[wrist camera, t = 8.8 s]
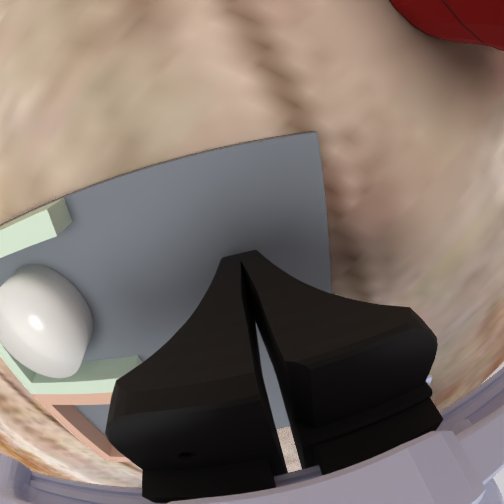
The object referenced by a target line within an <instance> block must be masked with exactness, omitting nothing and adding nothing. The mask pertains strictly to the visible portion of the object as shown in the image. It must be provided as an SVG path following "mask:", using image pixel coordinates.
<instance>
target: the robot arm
mask: <svg viewBox="0 0 504 504" xmlns="http://www.w3.org/2000/svg"><path fill="white" fill-rule="evenodd" d="M255 322H256V323H255ZM256 324H257V327H258V329H259V332H260V335H261V337H262V340H263V342H264V345H265V347H266V350H267V353H268V355H269V358H270V360H271V363H272V365H273V368H274V371H275V374H276V377H277V380H278V384H279V388H280V391H281V395H282V398H283V402H284V406H285V409H286V413H287V416H288V420H289V424H290V427H291V431H292V434H293V438H294V442H295V445H296V449H297V452H298V456H299V460H300V463H301V467H302V470H298V471H294V472H290V473H288V471H287V468H286V464H285V460H284V457H283V453H282V449H281V445H280V442H279V438H278V434H277V430H276V426H275V423H274V419H273V415H272V411H271V407H270V403H269V399H268V395H267V391H266V387H265V383H264V379H263V373H262V367H261V360H260V352H259V345H258V337H257V330H256ZM437 346H438V344H437V337H436V336H435V334H434V333H433V332H432V331H431V329H430V328H429V327H428V326H427V325H426V324H425V322H424V321H423V320H422V319H421V318H420V317H419V316H418V315H417V314H416V313H415V312H414V311H413V310H412V309H411V308H410V307H399V306H388V305H378V304H372V303H367V302H361V301H356V300H352V299H348V298H344V297H341V296H338V295H334V294H331V293H328V292H325V291H322V290H320V289H317V288H315V287H313V286H310V285H308V284H306V283H304V282H302V281H300V280H298V279H296V278H294V277H293V276H291V275H289V274H288V273H286V272H285V271H283V270H282V269H280V268H279V267H277V266H276V265H275V264H273V263H272V262H271V261H269V260H268V259H267V258H266V257H264V256H263V255H262V254H261V253H260V252H259V251H257V250H251V251H247V252H243V253H239V254H235V255H230V256H226V257H222V259H221V260H220V263H219V265H218V268H217V271H216V273H215V275H214V277H213V280H212V282H211V284H210V286H209V288H208V290H207V291H206V293H205V295H204V297H203V298H202V300H201V302H200V303H199V305H198V306H197V308H196V309H195V311H194V312H193V314H192V315H191V316H190V318H189V319H188V320H187V321H186V323H185V324H184V325H183V326H182V327H181V328H180V329H179V330H178V331H177V332H176V333H175V334H174V335H173V336H172V338H171V339H170V340H169V341H168V342H166V343H165V344H164V345H163V346H162V347H161V348H160V349H159V350H157V351H156V352H155V353H154V354H153V355H151V356H150V357H149V358H148V359H146V360H145V361H144V362H143V363H141V364H140V365H138V366H137V367H135V368H134V369H132V370H131V371H130V372H128V373H127V374H125V375H124V376H122V377H121V378H119V379H117V380H116V382H115V386H114V389H113V392H112V396H111V401H110V407H109V413H108V418H107V424H106V430H105V434H106V436H107V439H108V441H109V442H110V443H111V444H112V445H113V446H114V447H115V448H116V449H117V450H118V451H119V452H120V453H121V454H123V455H124V456H125V457H126V458H128V459H129V460H130V461H132V462H133V463H134V464H136V465H137V466H138V467H140V468H141V469H143V475H142V488H131V487H117V486H107V485H98V484H91V483H84V482H78V481H72V480H67V479H62V478H57V477H53V476H49V475H45V474H41V473H37V472H33V471H31V470H30V469H29V468H28V467H26V466H25V465H23V464H22V463H20V462H19V461H17V460H15V459H14V458H11V457H9V456H5V455H2V454H0V504H504V501H503V498H502V495H501V493H500V491H499V489H498V486H497V485H496V483H495V481H494V479H493V477H494V476H495V475H496V474H497V473H498V472H499V471H500V470H501V469H502V468H503V467H504V367H503V368H502V369H501V370H499V371H498V372H497V373H496V374H494V375H493V376H492V377H490V378H489V379H488V380H487V381H485V382H484V383H483V384H481V385H480V386H478V387H477V388H476V389H474V390H473V391H471V392H470V393H468V394H467V395H465V396H464V397H462V398H461V399H459V400H458V401H456V402H455V403H453V404H452V405H450V406H448V407H447V408H445V409H444V410H442V411H440V412H439V411H438V410H437V408H436V407H435V405H434V403H433V402H432V400H431V399H430V397H431V395H432V389H431V388H430V387H429V384H430V382H431V380H432V376H431V375H430V374H429V372H430V370H431V367H432V364H433V362H434V359H435V355H436V351H437Z"/></svg>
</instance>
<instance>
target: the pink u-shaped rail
mask: <svg viewBox="0 0 504 504" xmlns="http://www.w3.org/2000/svg"><path fill="white" fill-rule="evenodd" d="M32 395H33V396H34V397H35V398H36V400H37V401H38V402H39V403H40V404H41V405H42V406H43V407H44V408H45V409H46V410H47V411H48V412H49V413H50V414H51V415H52V416H53V417H54V418H55V419H56V420H57V421H59V422H60V423H61V424H62V425H63V426H64V427H65V428H66V429H67V430H68V431H70V432H71V433H72V434H73V435H74V436H75V437H76V438H78V439H79V440H80V441H81V442H82V443H84V444H85V445H86V446H87V447H89V448H90V449H91V450H92V451H94V452H95V453H96V454H98V455H99V456H100V457H102V458H103V459H104V460H106V461H115V462H132V461H130V460H129V459H128V458H126V457H125V456H124V455H123V454H121V453H120V452H119V451H118V450H117V449H116V448H115V447H114V446H113V445H112V444H111V443H110V442H109V441H108V439H107V437H106V436H105V435H103V434H102V433H101V432H100V431H99V430H98V429H97V428H96V427H95V426H94V425H93V424H92V423H91V422H90V421H88V420H87V419H86V418H85V417H84V416H83V415H82V414H81V413H80V412H79V411H78V410H77V409H76V407H75V406H74V405H102V404H110V401H111V396H112V392H109V393H92V394H32Z"/></svg>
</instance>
